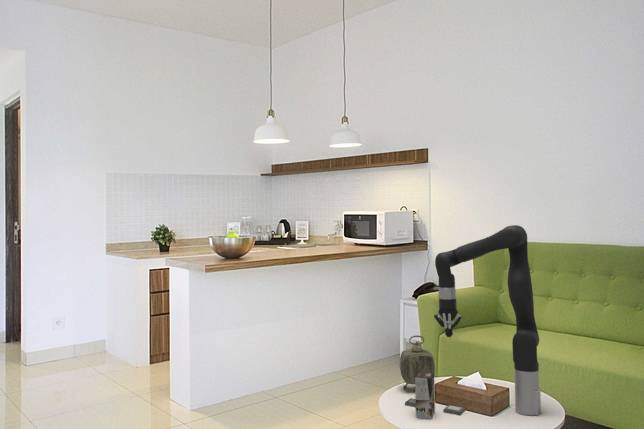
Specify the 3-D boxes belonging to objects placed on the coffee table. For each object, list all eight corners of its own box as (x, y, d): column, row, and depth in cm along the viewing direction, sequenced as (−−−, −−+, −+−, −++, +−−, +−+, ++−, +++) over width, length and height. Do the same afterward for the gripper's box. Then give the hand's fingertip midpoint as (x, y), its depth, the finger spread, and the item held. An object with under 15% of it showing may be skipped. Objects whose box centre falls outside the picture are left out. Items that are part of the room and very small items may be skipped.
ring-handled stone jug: (431, 386, 258) (429, 333, 258) (436, 392, 249) (435, 337, 249) (400, 387, 257) (399, 334, 257) (404, 394, 248) (403, 338, 248)
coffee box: (431, 419, 217) (430, 378, 217) (415, 417, 219) (414, 377, 219) (435, 411, 225) (434, 372, 225) (419, 410, 228) (418, 371, 228)
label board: (465, 410, 226) (465, 407, 226) (460, 415, 221) (460, 411, 221) (410, 401, 239) (410, 397, 239) (404, 405, 234) (404, 401, 234)
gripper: (464, 296, 243) (466, 336, 243) (436, 295, 250) (437, 334, 250) (459, 299, 236) (461, 339, 236) (430, 298, 243) (431, 337, 243)
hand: (449, 336), depth 243 cm, fingers closed
